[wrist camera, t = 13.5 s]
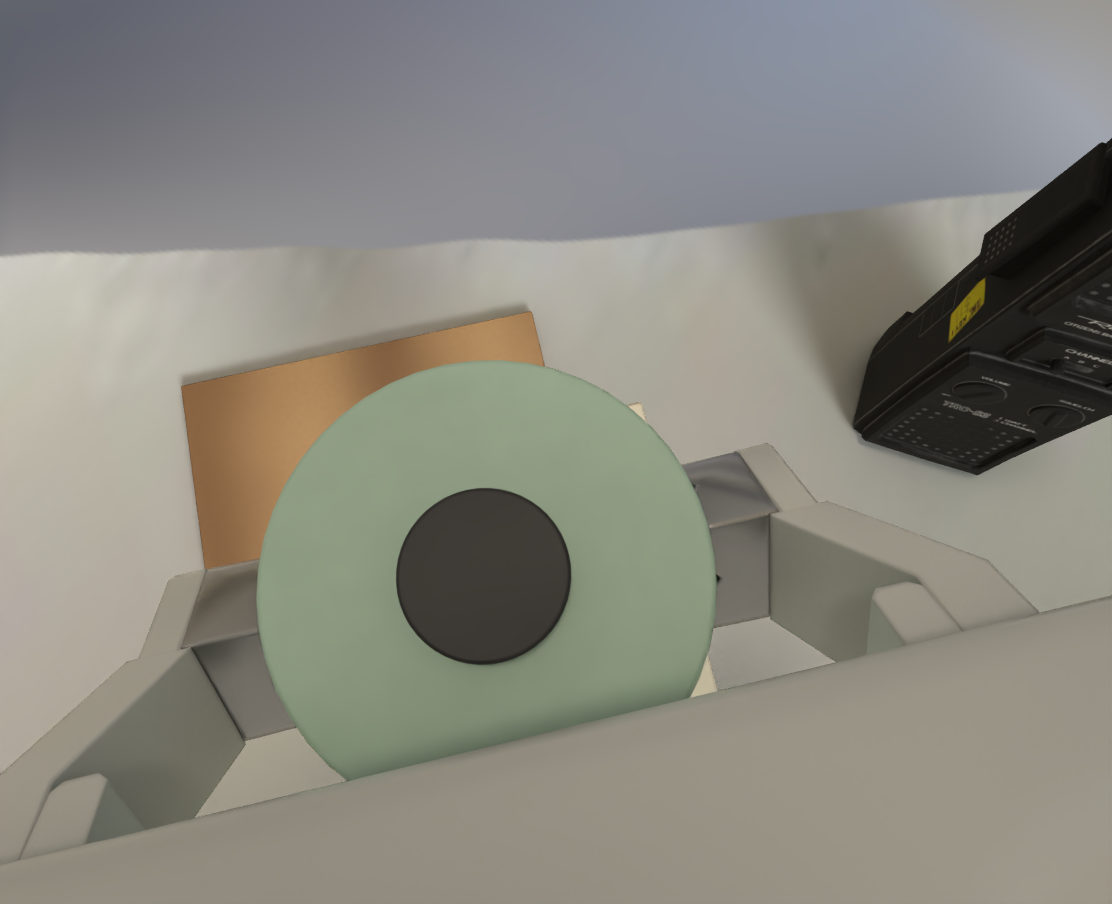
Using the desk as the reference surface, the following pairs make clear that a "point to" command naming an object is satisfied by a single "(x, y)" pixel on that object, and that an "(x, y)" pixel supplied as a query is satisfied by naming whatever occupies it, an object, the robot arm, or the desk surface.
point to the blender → (482, 569)
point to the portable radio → (1006, 336)
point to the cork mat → (306, 420)
